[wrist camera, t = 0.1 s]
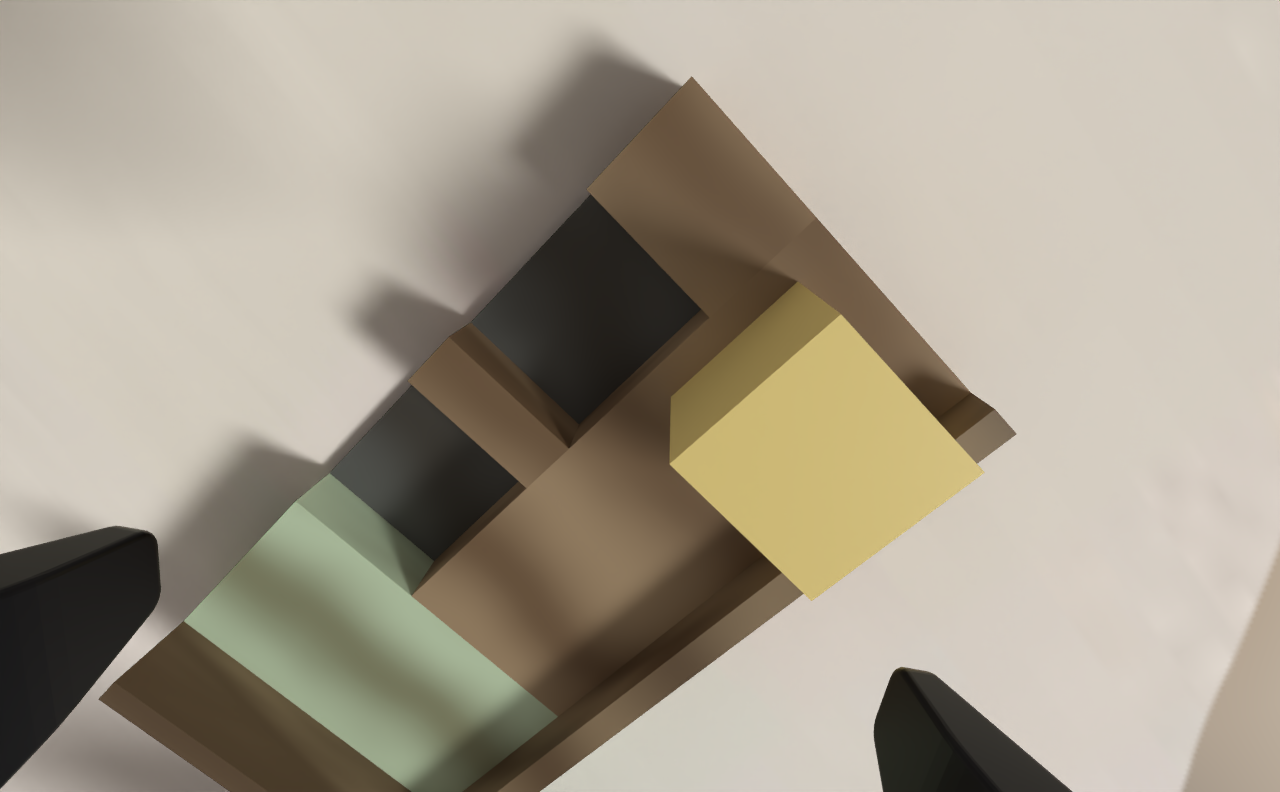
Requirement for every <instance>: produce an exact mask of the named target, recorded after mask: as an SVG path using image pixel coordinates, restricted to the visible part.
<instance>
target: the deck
mask: <svg viewBox="0 0 1280 792" xmlns="http://www.w3.org/2000/svg"><path fill="white" fill-rule="evenodd" d="M586 190H587V191H588V192H589V193H590V194H591V195H590V196H589V197H588V198H587V199H586V200H585V201H584V202H583V203H582V204H581V206H580V207H579V208H578V209H577V210H576V211H575V212H574V213H573V214H572V215H571V216H570V217H569V218H568V219H567V220H566V222H565V223H564V224H563V225H562V226H561V227H560V228H559V229H558V230H557V231H556V232H555V233H554V234H553V235H552V236H551V238H550V239H549V240H548V241H547V242H546V243H545V244H544V245H543V246H542V247H541V248H540V249H539V250H538V251H537V252H536V254H535V255H534V256H533V257H532V258H531V259H530V260H529V261H528V262H527V263H526V264H525V265H524V266H523V267H522V268H521V270H520V271H519V272H518V273H517V274H516V275H515V276H514V277H513V278H512V279H511V280H510V281H509V282H508V283H507V284H506V286H505V287H504V288H503V289H502V290H501V291H500V292H499V293H498V294H497V295H496V296H495V297H494V298H493V299H492V300H491V302H490V303H489V304H488V305H487V306H486V307H485V308H484V309H483V310H482V311H481V312H480V313H479V314H478V315H477V316H476V318H475V319H474V320H473V321H472V322H471V323H469V324H468V325H466V326H465V327H463V328H462V329H460V330H459V331H457V332H456V333H454V334H452V335H451V336H449V337H448V338H447V339H446V340H445V341H444V343H443V344H442V345H441V346H440V347H439V348H438V349H437V350H436V351H435V352H434V353H433V354H432V355H431V357H430V358H429V359H428V360H427V361H426V362H425V363H424V364H423V365H422V366H421V367H420V368H419V369H418V370H417V372H416V373H415V374H414V375H413V376H412V377H411V378H410V379H409V380H408V382H409V383H410V384H411V385H412V386H411V387H410V388H409V389H408V390H407V391H406V392H405V393H404V394H403V395H402V396H401V398H400V399H399V400H398V401H397V402H396V403H395V404H394V405H393V406H392V407H391V408H390V409H389V410H388V411H387V412H386V414H385V415H384V416H383V417H382V418H381V419H380V420H379V421H378V422H377V423H376V424H375V425H374V426H373V427H372V428H371V430H370V431H369V432H368V433H367V434H366V435H365V436H364V437H363V438H362V439H361V440H360V441H359V442H358V443H357V444H356V446H355V447H354V448H353V449H352V450H351V451H350V452H349V453H348V454H347V455H346V456H345V457H344V458H343V459H342V460H341V462H340V463H339V464H338V465H337V466H336V467H335V468H334V469H333V470H332V471H331V472H330V473H329V474H328V475H327V476H326V477H324V478H323V479H322V480H321V481H319V482H318V483H317V484H316V485H315V486H313V487H312V488H311V489H310V490H309V491H307V492H306V493H305V494H304V495H302V496H301V497H300V498H299V499H298V500H296V501H295V502H294V503H293V504H292V506H291V507H290V508H289V509H288V510H287V511H286V512H285V513H284V514H283V515H282V516H281V517H280V518H279V519H278V521H277V522H276V523H275V524H274V525H273V526H272V527H271V528H270V529H269V530H268V531H267V532H266V533H265V535H264V536H263V537H262V538H261V539H260V540H259V541H258V542H257V543H256V544H255V545H254V546H253V547H252V548H251V550H250V551H249V552H248V553H247V554H246V555H245V556H244V557H243V558H242V559H241V560H240V561H239V562H238V563H237V565H236V566H235V567H234V568H233V569H232V570H231V571H230V572H229V573H228V574H227V575H226V576H225V577H224V578H223V580H222V581H221V582H220V583H219V584H218V585H217V586H216V587H215V588H214V589H213V590H212V591H211V592H210V593H209V595H208V596H207V597H206V598H205V599H204V600H203V601H202V602H201V603H200V604H199V605H198V606H197V607H196V609H195V610H194V611H193V612H192V613H191V614H190V615H189V616H188V617H187V618H186V619H185V620H184V621H183V622H182V623H181V624H180V625H179V626H178V627H176V628H175V629H174V630H173V631H172V632H171V633H170V634H169V635H167V636H166V637H165V638H164V639H163V640H162V641H161V642H159V643H158V644H157V645H156V646H155V647H154V648H153V649H151V650H150V651H149V652H148V653H147V654H146V655H145V656H144V657H142V658H141V659H140V660H139V661H138V662H137V663H136V664H134V665H133V666H132V667H131V668H130V669H129V670H128V671H126V672H125V673H124V674H123V675H122V676H121V677H120V678H118V679H117V680H116V681H115V682H114V683H113V684H112V685H111V686H110V687H109V688H108V690H107V691H106V692H105V693H104V694H103V695H102V696H101V697H100V698H99V700H100V701H102V702H103V703H105V704H106V705H107V706H109V707H110V708H112V709H113V710H115V711H116V712H117V713H119V714H120V715H122V716H123V717H125V718H126V719H127V720H129V721H130V722H132V723H133V724H134V725H136V726H137V727H139V728H140V729H142V730H143V731H144V732H146V733H147V734H149V735H150V736H152V737H153V738H154V739H156V740H157V741H159V742H160V743H162V744H163V745H164V746H166V747H167V748H169V749H170V750H172V751H173V752H174V753H176V754H177V755H179V756H180V757H182V758H183V759H184V760H186V761H187V762H189V763H190V764H192V765H193V766H194V767H196V768H197V769H199V770H200V771H201V772H203V773H204V774H206V775H207V776H209V777H210V778H211V779H213V780H214V781H216V782H217V783H219V784H220V785H221V786H223V787H224V788H226V789H227V790H229V791H230V792H540V791H541V790H542V789H544V788H545V787H546V786H548V785H549V784H550V783H552V782H553V781H554V780H556V779H557V778H558V777H560V776H561V775H562V774H564V773H565V772H566V771H568V770H569V769H570V768H572V767H573V766H574V765H576V764H577V763H578V762H580V761H581V760H582V759H584V758H585V757H586V756H588V755H589V754H590V753H592V752H593V751H594V750H596V749H597V748H598V747H600V746H601V745H602V744H604V743H605V742H606V741H608V740H609V739H610V738H612V737H613V736H614V735H616V734H617V733H618V732H620V731H621V730H622V729H624V728H625V727H626V726H628V725H629V724H630V723H632V722H633V721H634V720H636V719H637V718H638V717H640V716H641V715H642V714H644V713H645V712H646V711H648V710H649V709H650V708H652V707H653V706H654V705H656V704H657V703H658V702H660V701H661V700H662V699H664V698H665V697H666V696H668V695H669V694H670V693H672V692H673V691H674V690H676V689H677V688H678V687H680V686H681V685H682V684H684V683H685V682H686V681H688V680H689V679H690V678H692V677H693V676H694V675H696V674H697V673H698V672H700V671H701V670H702V669H704V668H705V667H706V666H708V665H709V664H710V663H712V662H713V661H714V660H716V659H717V658H718V657H720V656H721V655H722V654H724V653H725V652H726V651H728V650H729V649H730V648H732V647H733V646H734V645H736V644H737V643H738V642H740V641H741V640H742V639H744V638H745V637H746V636H748V635H749V634H750V633H752V632H753V631H754V630H756V629H757V628H758V627H760V626H761V625H762V624H764V623H765V622H766V621H768V620H769V619H770V618H772V617H773V616H774V615H776V614H777V613H778V612H780V611H781V610H782V609H784V608H785V607H786V606H788V605H789V604H790V603H792V602H793V601H794V600H796V599H797V598H798V597H800V596H801V595H802V594H804V593H803V592H802V591H801V590H800V589H798V588H797V587H796V586H795V585H794V584H793V583H792V582H791V581H790V580H789V579H788V578H787V577H786V576H785V575H784V574H783V573H782V572H781V571H780V570H779V569H778V568H777V567H776V566H775V565H774V564H773V563H771V562H770V561H769V560H768V559H767V558H766V557H765V556H764V555H763V554H762V553H761V552H760V551H759V550H758V549H757V548H756V547H755V546H754V545H753V544H752V543H751V542H750V541H749V540H748V539H747V538H746V537H744V536H743V535H742V534H741V533H740V532H739V531H738V530H737V529H736V528H735V527H734V526H733V525H732V524H731V523H730V522H729V521H728V520H727V519H726V518H725V517H724V516H723V515H722V514H721V513H720V512H719V511H718V510H716V509H715V508H714V507H713V506H712V505H711V504H710V503H709V502H708V501H707V500H706V499H705V498H704V497H703V496H702V495H701V494H700V493H699V492H698V491H697V490H696V489H695V488H694V487H693V486H692V485H691V484H689V483H688V482H687V481H686V480H685V479H684V478H683V477H682V476H681V475H680V474H679V473H678V472H677V471H676V470H675V469H674V468H673V467H672V466H671V465H670V464H669V459H670V414H671V396H673V395H674V394H675V393H676V392H677V391H678V390H679V389H680V388H681V387H682V386H684V385H685V384H686V383H687V382H688V381H689V380H690V379H691V378H692V377H693V376H695V375H696V374H697V373H698V372H699V371H700V370H701V369H702V368H703V367H704V366H706V365H707V364H708V363H709V362H710V361H711V360H712V359H713V358H714V357H715V356H717V355H718V354H719V353H720V352H721V351H722V350H723V349H724V348H725V347H726V346H727V345H729V344H730V343H731V342H732V341H733V340H734V339H735V338H736V337H737V336H738V335H740V334H741V333H742V332H743V331H744V330H745V329H746V328H747V327H748V326H749V325H751V324H752V323H753V322H754V321H755V320H756V319H757V318H758V317H759V316H760V315H762V314H763V313H764V312H765V311H766V310H767V309H768V308H769V307H770V306H771V305H773V304H774V303H775V302H776V301H777V300H778V299H779V298H780V297H781V296H782V295H784V294H785V293H786V292H787V291H788V290H789V289H790V288H791V287H792V286H793V285H795V284H796V283H797V282H799V283H801V284H802V285H803V286H805V287H806V288H807V289H809V290H810V291H811V292H813V293H814V294H815V295H816V296H818V297H819V298H820V299H822V300H823V301H824V302H826V303H827V304H828V305H830V306H831V307H832V308H834V309H835V310H836V311H838V312H839V313H840V314H841V315H842V316H843V317H844V318H845V319H846V320H847V321H848V322H849V323H850V325H851V326H852V327H853V328H854V329H855V330H856V331H857V332H858V333H859V334H860V336H861V337H862V338H863V339H864V340H865V341H866V342H867V343H868V344H869V346H870V347H871V348H872V349H873V350H874V351H875V352H876V353H877V354H878V355H879V357H880V358H881V359H882V360H883V361H884V362H885V363H886V364H887V365H888V366H889V368H890V369H891V370H892V371H893V372H894V373H895V374H896V375H897V376H898V377H899V379H900V380H901V381H902V382H903V383H904V384H905V385H906V386H907V387H908V389H909V390H910V391H911V392H912V393H913V394H914V395H915V396H916V397H917V398H918V400H919V401H920V402H921V403H922V404H923V405H924V406H925V407H926V408H927V409H928V411H929V412H930V413H931V414H932V415H933V416H934V417H935V418H936V419H937V421H938V422H939V423H940V424H941V425H942V426H943V427H944V428H945V429H946V430H947V432H948V433H949V434H950V435H951V436H952V437H953V438H954V439H955V440H956V441H957V443H958V444H959V445H960V446H961V447H962V448H963V449H964V450H965V451H966V453H967V454H968V455H969V456H970V457H971V458H972V459H973V460H974V461H975V462H976V464H977V463H979V462H980V461H981V460H983V459H984V458H985V457H987V456H988V455H989V454H991V453H992V452H993V451H995V450H996V449H997V448H999V447H1000V446H1001V445H1003V444H1004V443H1005V442H1007V441H1008V440H1009V439H1011V438H1012V437H1013V436H1015V435H1016V433H1015V432H1014V430H1013V429H1012V428H1011V427H1010V426H1009V425H1008V424H1007V422H1006V421H1005V420H1004V419H1003V418H1002V417H1001V416H1000V415H999V413H998V412H997V411H996V410H995V409H994V408H992V407H991V406H989V405H988V404H987V403H985V402H984V401H982V400H981V399H979V398H978V397H976V396H975V395H974V394H972V393H971V392H970V391H969V390H968V389H967V388H966V387H965V385H964V384H963V383H962V382H961V381H960V380H959V379H958V378H957V376H956V375H955V374H954V373H953V372H952V371H951V370H950V368H949V367H948V366H947V365H946V364H945V363H944V362H943V361H942V359H941V358H940V357H939V356H938V355H937V354H936V353H935V351H934V350H933V349H932V348H931V347H930V346H929V345H928V344H927V342H926V341H925V340H924V339H923V338H922V337H921V336H920V334H919V333H918V332H917V331H916V330H915V329H914V328H913V327H912V325H911V324H910V323H909V322H908V321H907V320H906V319H905V317H904V316H903V315H902V314H901V313H900V312H899V311H898V310H897V308H896V307H895V306H894V305H893V304H892V303H891V302H890V300H889V299H888V298H887V297H886V296H885V295H884V294H883V293H882V291H881V290H880V289H879V288H878V287H877V286H876V285H875V283H874V282H873V281H872V280H871V279H870V278H869V277H868V276H867V274H866V273H865V272H864V271H863V270H862V269H861V268H860V266H859V265H858V264H857V263H856V262H855V261H854V260H853V259H852V257H851V256H850V255H849V254H848V253H847V252H846V251H845V249H844V248H843V247H842V246H841V245H840V244H839V243H838V242H837V240H836V239H835V238H834V237H833V236H832V235H831V234H830V232H829V231H828V230H827V229H826V228H825V227H824V226H823V225H822V223H821V222H820V221H819V220H818V219H817V218H816V217H815V215H814V214H813V213H812V212H811V211H810V210H809V209H808V208H807V206H806V205H805V204H804V203H803V202H802V201H801V200H800V198H799V197H798V196H797V195H796V194H795V193H794V192H793V191H792V189H791V188H790V187H789V186H788V185H787V184H786V183H785V181H784V180H783V179H782V178H781V177H780V176H779V175H778V174H777V172H776V171H775V170H774V169H773V168H772V167H771V166H770V164H769V163H768V162H767V161H766V160H765V159H764V158H763V157H762V155H761V154H760V153H759V152H758V151H757V150H756V149H755V147H754V146H753V145H752V144H751V143H750V142H749V141H748V140H747V138H746V137H745V136H744V135H743V134H742V133H741V132H740V130H739V129H738V128H737V127H736V126H735V125H734V124H733V123H732V121H731V120H730V119H729V118H728V117H727V116H726V115H725V113H724V112H723V111H722V110H721V109H720V108H719V107H718V105H717V104H716V103H715V102H714V101H713V100H712V99H711V98H710V96H709V95H708V94H707V93H706V92H705V91H704V90H703V88H702V87H701V86H700V85H699V84H698V83H697V82H696V81H695V79H694V78H693V77H691V78H690V79H689V80H688V81H687V82H686V83H685V84H684V85H683V86H682V87H681V88H680V89H679V91H678V92H677V93H676V94H675V95H674V96H673V97H672V98H671V99H670V100H669V101H668V102H667V103H666V104H665V106H664V107H663V108H662V109H661V110H660V111H659V112H658V113H657V114H656V115H655V116H654V117H653V118H652V120H651V121H650V122H649V123H648V124H647V125H646V126H645V127H644V128H643V129H642V130H641V131H640V132H639V133H638V135H637V136H636V137H635V138H634V139H633V140H632V141H631V142H630V143H629V144H628V145H627V146H626V147H625V148H624V150H623V151H622V152H621V153H620V154H619V155H618V156H617V157H616V158H615V159H614V160H613V161H612V162H611V163H610V165H609V166H608V167H607V168H606V169H605V170H604V171H603V172H602V173H601V174H600V175H599V176H598V177H597V178H596V180H595V181H594V182H593V183H592V184H591V185H590V186H589V187H588V188H587V189H586Z"/></svg>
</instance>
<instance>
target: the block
mask: <svg viewBox="0 0 1280 792" xmlns="http://www.w3.org/2000/svg"><path fill="white" fill-rule="evenodd" d="M669 464H670V465H671V466H672V467H673V468H674V469H675V470H676V471H677V472H678V473H679V474H680V475H681V476H682V477H683V478H684V479H685V480H686V481H687V482H688V483H689V484H691V485H692V486H693V487H694V488H695V489H696V490H697V491H698V492H699V493H700V494H701V495H702V496H703V497H704V498H705V499H706V500H707V501H708V502H709V503H710V504H711V505H712V506H713V507H714V508H715V509H716V510H718V511H719V512H720V513H721V514H722V515H723V516H724V517H725V518H726V519H727V520H728V521H729V522H730V523H731V524H732V525H733V526H734V527H735V528H736V529H737V530H738V531H739V532H740V533H741V534H742V535H743V536H744V537H746V538H747V539H748V540H749V541H750V542H751V543H752V544H753V545H754V546H755V547H756V548H757V549H758V550H759V551H760V552H761V553H762V554H763V555H764V556H765V557H766V558H767V559H768V560H769V561H770V562H771V563H773V564H774V565H775V566H776V567H777V568H778V569H779V570H780V571H781V572H782V573H783V574H784V575H785V576H786V577H787V578H788V579H789V580H790V581H791V582H792V583H793V584H794V585H795V586H796V587H797V588H798V589H800V590H801V591H802V592H803V593H804V594H805V595H806V596H807V597H808V598H809V599H810V600H811V601H812V600H814V599H815V598H816V597H818V596H819V595H820V594H822V593H823V592H824V591H826V590H827V589H828V588H830V587H831V586H832V585H834V584H835V583H837V582H838V581H839V580H841V579H842V578H843V577H845V576H846V575H847V574H849V573H850V572H851V571H853V570H854V569H855V568H857V567H858V566H859V565H861V564H862V563H863V562H865V561H866V560H867V559H869V558H870V557H872V556H873V555H874V554H876V553H877V552H878V551H880V550H881V549H882V548H884V547H885V546H886V545H888V544H889V543H890V542H892V541H893V540H894V539H896V538H897V537H898V536H900V535H901V534H902V533H904V532H905V531H907V530H908V529H909V528H911V527H912V526H913V525H915V524H916V523H917V522H919V521H920V520H921V519H923V518H924V517H925V516H927V515H928V514H929V513H931V512H932V511H933V510H935V509H936V508H937V507H939V506H940V505H942V504H943V503H944V502H946V501H947V500H948V499H950V498H951V497H952V496H954V495H955V494H956V493H958V492H959V491H960V490H962V489H963V488H964V487H966V486H967V485H968V484H970V483H971V482H972V481H974V480H975V479H977V478H978V477H979V476H981V475H982V474H983V473H985V472H984V471H983V470H982V469H981V468H980V467H979V466H978V465H977V464H976V462H975V461H974V460H973V459H972V458H971V457H970V456H969V455H968V454H967V453H966V451H965V450H964V449H963V448H962V447H961V446H960V445H959V444H958V443H957V441H956V440H955V439H954V438H953V437H952V436H951V435H950V434H949V433H948V432H947V430H946V429H945V428H944V427H943V426H942V425H941V424H940V423H939V422H938V421H937V419H936V418H935V417H934V416H933V415H932V414H931V413H930V412H929V411H928V409H927V408H926V407H925V406H924V405H923V404H922V403H921V402H920V401H919V400H918V398H917V397H916V396H915V395H914V394H913V393H912V392H911V391H910V390H909V389H908V387H907V386H906V385H905V384H904V383H903V382H902V381H901V380H900V379H899V377H898V376H897V375H896V374H895V373H894V372H893V371H892V370H891V369H890V368H889V366H888V365H887V364H886V363H885V362H884V361H883V360H882V359H881V358H880V357H879V355H878V354H877V353H876V352H875V351H874V350H873V349H872V348H871V347H870V346H869V344H868V343H867V342H866V341H865V340H864V339H863V338H862V337H861V336H860V334H859V333H858V332H857V331H856V330H855V329H854V328H853V327H852V326H851V325H850V323H849V322H848V321H847V320H846V319H845V318H844V317H843V316H842V315H841V314H840V313H839V312H838V311H836V310H835V309H834V308H832V307H831V306H830V305H828V304H827V303H826V302H824V301H823V300H822V299H820V298H819V297H818V296H816V295H815V294H814V293H813V292H811V291H810V290H809V289H807V288H806V287H805V286H803V285H802V284H801V283H799V282H797V283H796V284H795V285H793V286H792V287H791V288H790V289H789V290H788V291H787V292H786V293H785V294H784V295H782V296H781V297H780V298H779V299H778V300H777V301H776V302H775V303H774V304H773V305H771V306H770V307H769V308H768V309H767V310H766V311H765V312H764V313H763V314H762V315H760V316H759V317H758V318H757V319H756V320H755V321H754V322H753V323H752V324H751V325H749V326H748V327H747V328H746V329H745V330H744V331H743V332H742V333H741V334H740V335H738V336H737V337H736V338H735V339H734V340H733V341H732V342H731V343H730V344H729V345H727V346H726V347H725V348H724V349H723V350H722V351H721V352H720V353H719V354H718V355H717V356H715V357H714V358H713V359H712V360H711V361H710V362H709V363H708V364H707V365H706V366H704V367H703V368H702V369H701V370H700V371H699V372H698V373H697V374H696V375H695V376H693V377H692V378H691V379H690V380H689V381H688V382H687V383H686V384H685V385H684V386H682V387H681V388H680V389H679V390H678V391H677V392H676V393H675V394H674V395H673V396H671V414H670V459H669Z"/></svg>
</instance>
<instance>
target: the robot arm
mask: <svg viewBox="0 0 1280 792" xmlns="http://www.w3.org/2000/svg"><path fill="white" fill-rule="evenodd" d="M160 592H161V583H160V570H159V556H158V544H157V540H156V538H155V536H154V535H153V534H152V533H150V532H148V531H145V530H139V529H134V528H128V527H122V526H112V527H107V528H103V529H99V530H95V531H91V532H87V533H83V534H79V535H75V536H71V537H67V538H63V539H59V540H55V541H51V542H47V543H43V544H39V545H35V546H31V547H27V548H23V549H19V550H15V551H11V552H7V553H3V554H0V789H1V788H2V787H3V786H4V785H5V784H6V782H7V781H8V780H9V779H10V778H11V777H12V776H13V775H14V774H15V773H16V772H17V771H18V770H19V769H20V768H21V767H22V766H23V765H24V764H25V763H26V762H27V760H28V759H29V758H30V757H31V756H32V755H33V754H34V753H35V752H36V751H37V750H38V749H39V748H40V747H41V746H42V745H43V743H44V742H45V741H46V740H47V739H48V738H49V737H50V736H51V735H52V734H53V733H54V731H55V730H56V729H57V728H58V727H59V726H60V725H61V723H62V722H63V721H64V720H65V719H66V718H67V716H68V715H69V714H70V713H71V712H72V710H73V709H74V708H75V707H76V706H77V704H78V703H79V702H80V701H81V700H82V698H83V697H84V696H85V695H86V693H87V692H88V691H89V690H90V688H91V687H92V686H93V685H94V683H95V682H96V681H97V680H98V678H99V677H100V676H101V675H102V674H103V672H104V671H105V670H106V669H107V667H108V666H109V665H110V664H111V662H112V661H113V660H114V659H115V657H116V656H117V655H118V654H119V652H120V651H121V650H122V649H123V648H124V646H125V645H126V644H127V643H128V641H129V640H130V639H131V638H132V636H133V635H134V634H135V633H136V631H137V630H138V629H139V628H140V626H141V625H142V624H143V623H144V622H145V620H146V619H147V618H148V617H149V615H150V614H151V613H152V611H153V610H154V608H155V606H156V605H157V602H158V600H159V597H160ZM874 742H875V748H876V754H877V759H878V765H879V771H880V777H881V782H882V788H883V792H1072V791H1071V790H1070V789H1069V788H1068V787H1066V786H1065V785H1064V784H1063V783H1062V782H1061V781H1059V780H1058V779H1057V778H1056V777H1055V776H1053V775H1052V774H1051V773H1050V772H1049V771H1048V770H1046V769H1045V768H1044V767H1043V766H1042V765H1041V764H1039V763H1038V762H1037V761H1036V760H1035V759H1034V758H1032V757H1031V756H1030V755H1029V754H1028V753H1026V752H1025V751H1024V750H1023V749H1022V748H1021V747H1019V746H1018V745H1017V744H1016V743H1015V742H1014V741H1012V740H1011V739H1010V738H1009V737H1008V736H1006V735H1005V734H1004V733H1003V732H1002V731H1001V730H999V729H998V728H997V727H996V726H995V725H994V724H992V723H991V722H990V721H989V720H988V719H987V718H985V717H984V716H983V715H982V714H981V713H979V712H978V711H977V710H976V709H975V708H974V707H972V706H971V705H970V704H969V703H968V702H967V701H965V700H964V699H963V698H962V697H961V696H959V695H958V694H957V693H956V692H955V691H954V690H952V689H951V688H950V687H949V686H948V685H947V684H945V683H944V682H943V681H942V680H941V679H940V678H938V677H937V676H936V675H935V674H933V673H931V672H927V671H922V670H916V669H911V668H905V667H900V668H898V669H896V670H895V671H894V672H893V674H892V676H891V678H890V680H889V683H888V686H887V688H886V691H885V694H884V697H883V699H882V702H881V705H880V708H879V710H878V713H877V716H876V719H875V724H874Z"/></svg>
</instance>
